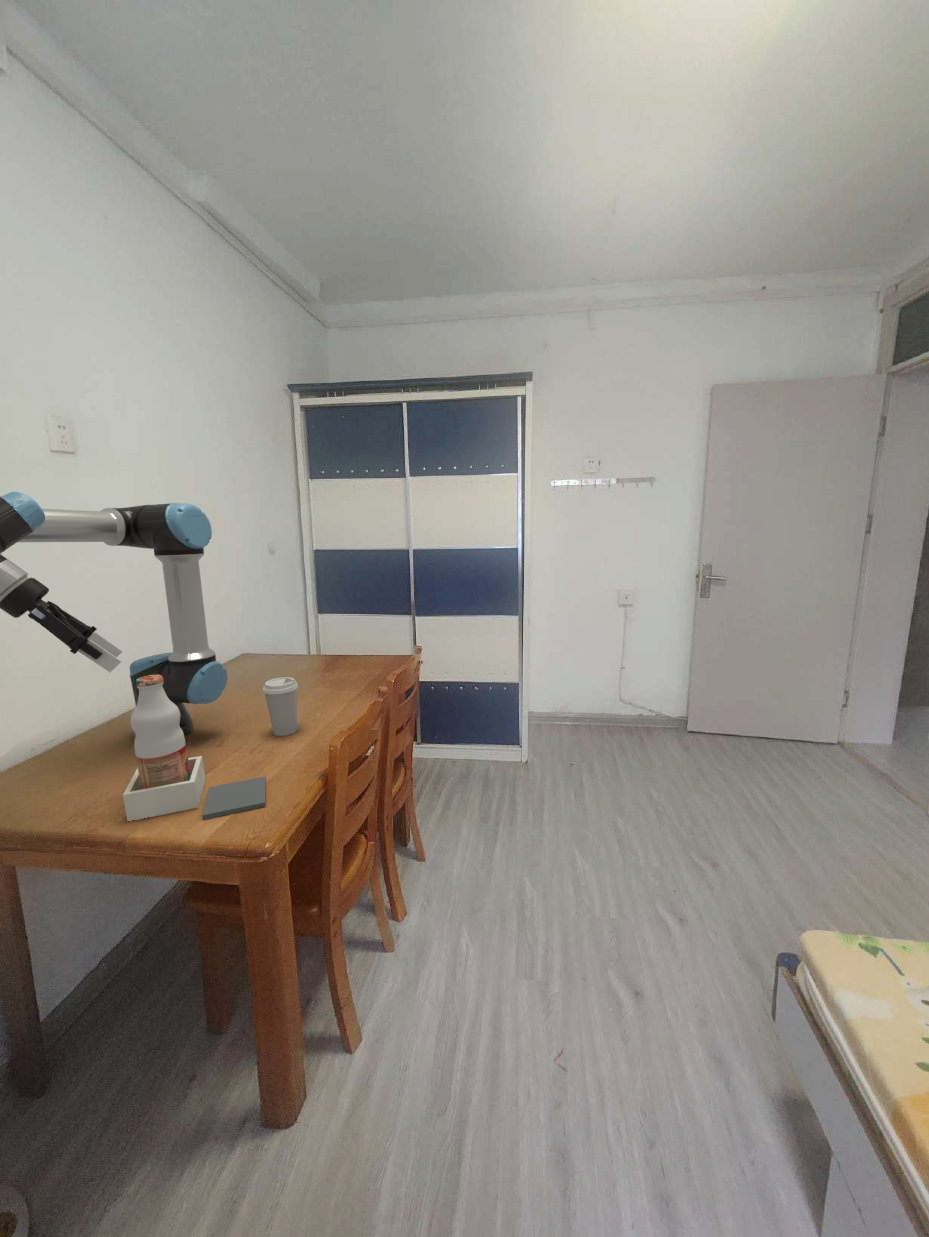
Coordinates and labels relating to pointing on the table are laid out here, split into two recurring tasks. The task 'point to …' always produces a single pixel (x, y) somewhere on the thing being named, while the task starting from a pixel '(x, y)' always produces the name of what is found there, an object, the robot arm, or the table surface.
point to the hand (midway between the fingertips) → (117, 661)
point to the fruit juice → (158, 736)
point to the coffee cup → (282, 705)
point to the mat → (235, 797)
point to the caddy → (165, 794)
